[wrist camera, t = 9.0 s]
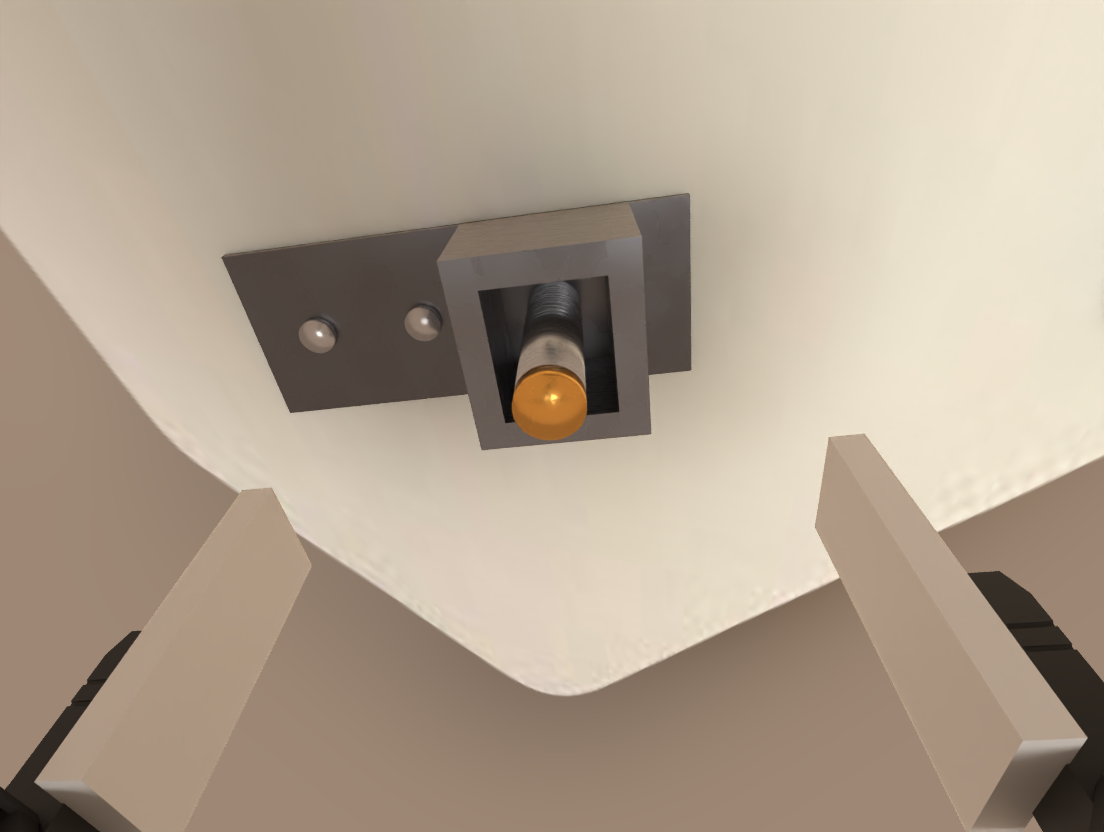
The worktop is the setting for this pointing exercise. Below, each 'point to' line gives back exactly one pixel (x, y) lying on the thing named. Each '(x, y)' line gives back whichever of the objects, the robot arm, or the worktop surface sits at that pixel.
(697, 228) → the worktop surface
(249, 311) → the keeper
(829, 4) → the worktop surface
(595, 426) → the grey hollow block
